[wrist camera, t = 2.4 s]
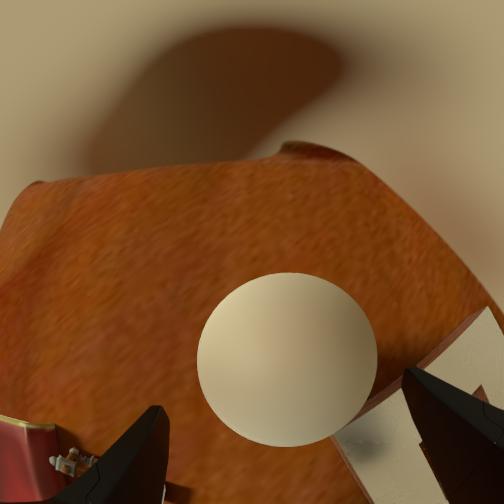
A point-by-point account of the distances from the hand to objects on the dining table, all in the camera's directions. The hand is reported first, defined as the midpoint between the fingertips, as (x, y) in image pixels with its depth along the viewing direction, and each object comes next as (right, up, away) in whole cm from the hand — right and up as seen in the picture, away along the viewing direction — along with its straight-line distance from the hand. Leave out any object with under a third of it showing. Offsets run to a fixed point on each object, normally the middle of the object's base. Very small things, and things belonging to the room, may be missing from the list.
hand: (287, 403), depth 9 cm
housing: (+13, -8, +5) cm, 16 cm away
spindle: (0, -3, +8) cm, 9 cm away
